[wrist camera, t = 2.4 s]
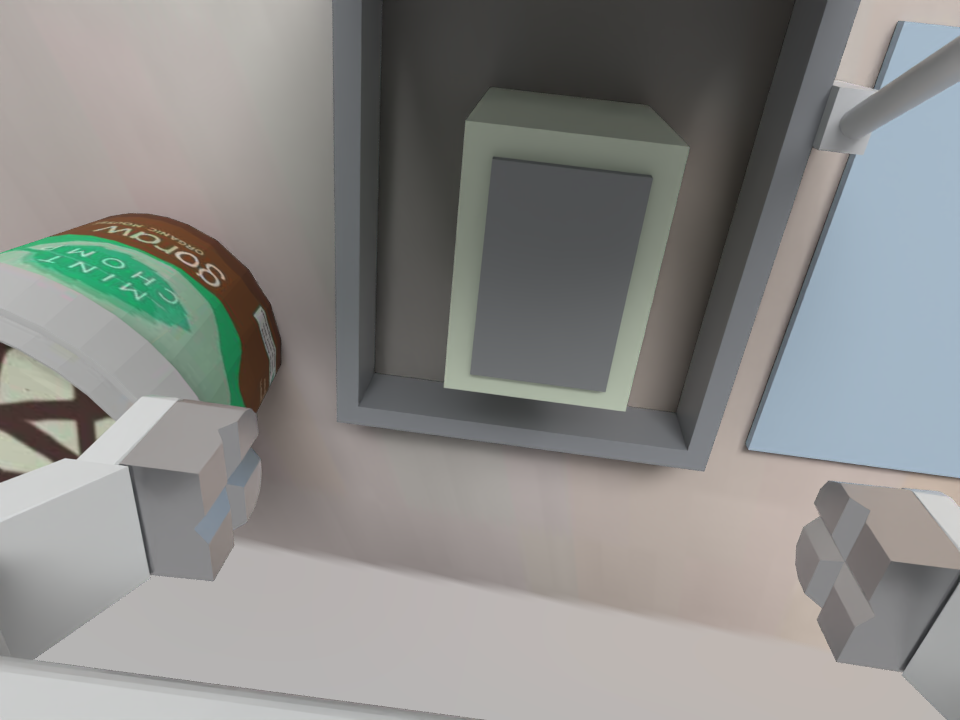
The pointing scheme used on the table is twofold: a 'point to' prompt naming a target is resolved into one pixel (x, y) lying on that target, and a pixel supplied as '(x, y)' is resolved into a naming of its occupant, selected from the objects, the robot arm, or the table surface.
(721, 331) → the case
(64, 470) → the robot arm
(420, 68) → the table surface
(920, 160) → the mat
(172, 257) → the food container
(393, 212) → the table surface
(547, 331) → the module
